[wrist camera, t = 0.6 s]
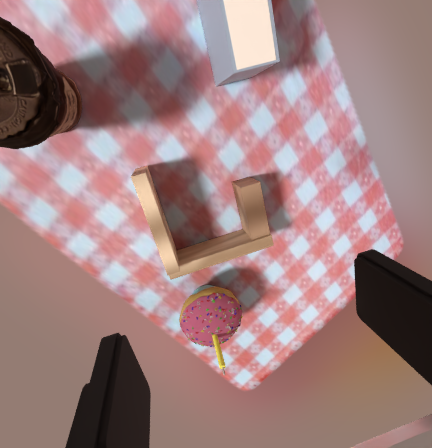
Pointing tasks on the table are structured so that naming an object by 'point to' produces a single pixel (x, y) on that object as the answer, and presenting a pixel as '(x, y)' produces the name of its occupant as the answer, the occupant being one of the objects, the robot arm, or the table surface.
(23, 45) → the coffee cup
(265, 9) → the grey rectangular block
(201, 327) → the cupcake
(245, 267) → the table surface
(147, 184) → the rack
